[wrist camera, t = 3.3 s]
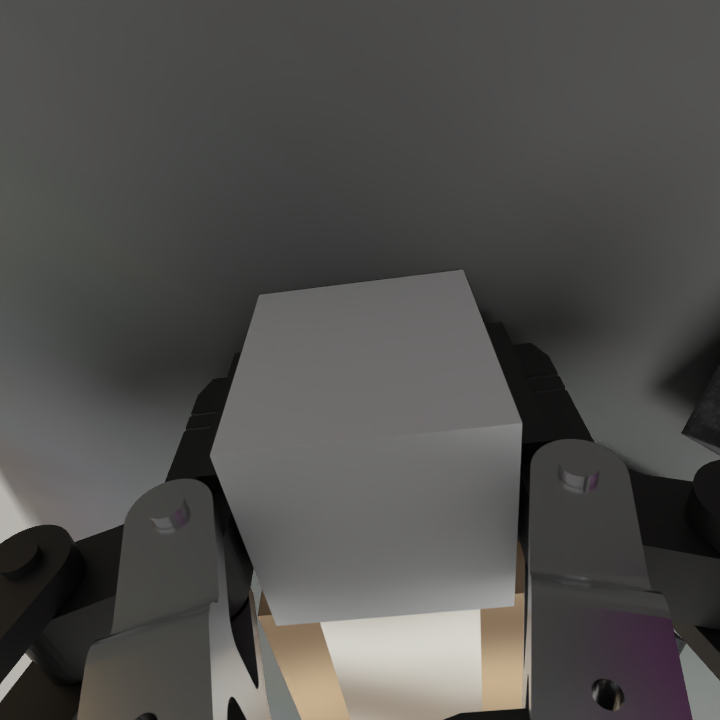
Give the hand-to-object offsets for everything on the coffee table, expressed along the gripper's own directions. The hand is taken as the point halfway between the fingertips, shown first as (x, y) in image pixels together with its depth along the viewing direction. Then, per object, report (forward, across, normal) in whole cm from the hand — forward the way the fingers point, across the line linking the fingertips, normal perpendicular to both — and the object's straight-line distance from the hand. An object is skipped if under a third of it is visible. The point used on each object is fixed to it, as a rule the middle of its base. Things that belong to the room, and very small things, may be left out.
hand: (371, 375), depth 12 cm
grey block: (0, 0, 0) cm, 0 cm away
